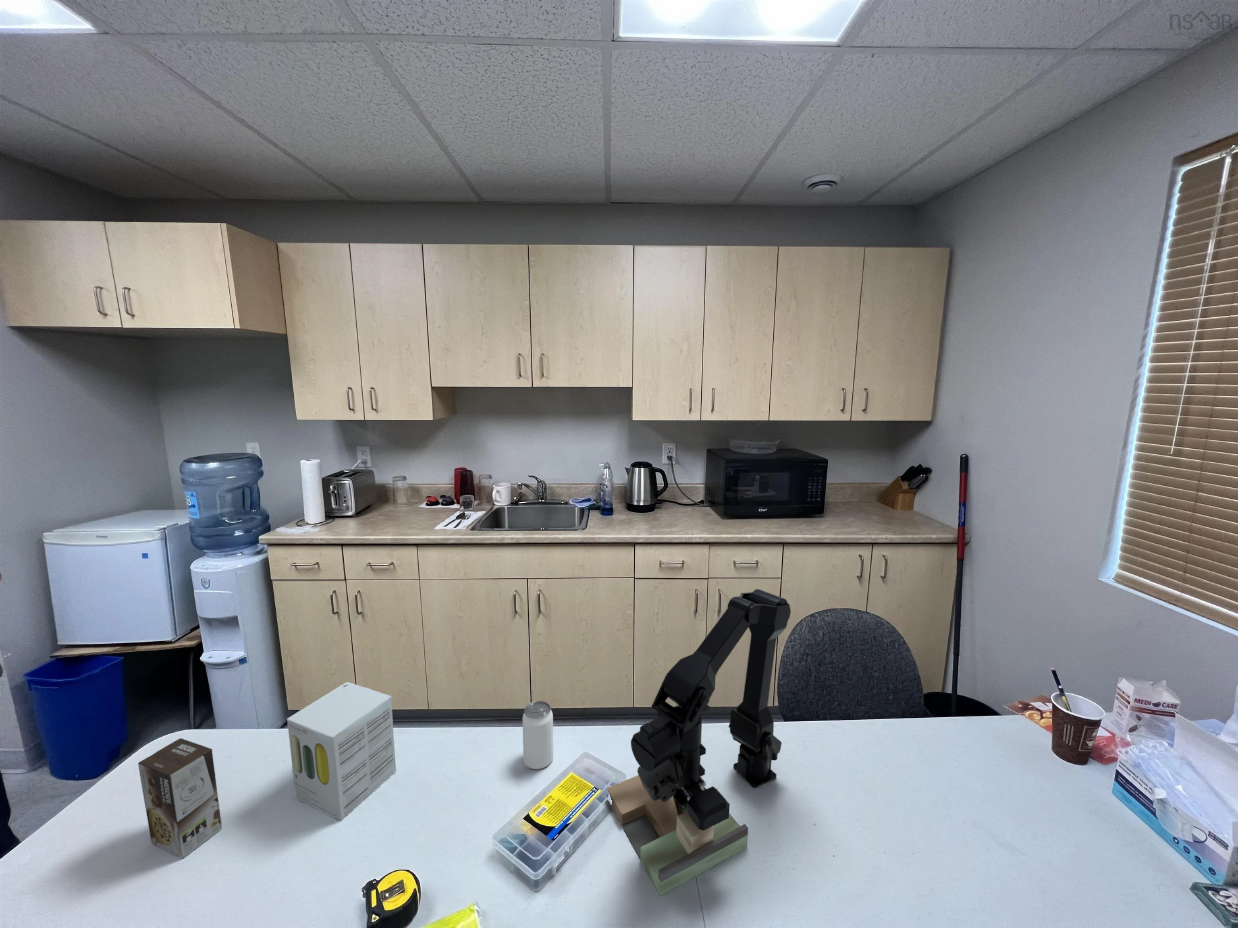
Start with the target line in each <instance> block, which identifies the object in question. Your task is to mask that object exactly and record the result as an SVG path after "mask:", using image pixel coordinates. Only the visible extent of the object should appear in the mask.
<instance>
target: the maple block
mask: <svg viewBox="0 0 1238 928" xmlns="http://www.w3.org/2000/svg"><path fill="white" fill-rule="evenodd" d="M713 834H714V827H713V826H712V827H710V828H708V829H706V830H704V831H703V830H700V829H698V827H697V826H696V825H695V823H694V822H693V821H692V819H691V818H690V816H689V814H688V811H687V812H685V813H683V814H680V815H678V816H677V830H676V836H677V838H678V840H679V841H680V843H681V844H682V846H683V847H684V849H685V850H686V852H687V853H688V854H689V853H691V852H693V851H695V850H696V849H698V848H700V847H702V846H704V845H706V844H708V843H710V842H712V841H713Z"/></svg>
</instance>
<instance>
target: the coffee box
mask: <svg viewBox="0 0 1238 928" xmlns="http://www.w3.org/2000/svg"><path fill="white" fill-rule="evenodd" d="M213 756H214V754H213V749H212V748H210V747H208V746H205V745H202V744H199V743H196V742H192V741H191V740H190V741H189V740H187V739H184V738H181V737H180V738H179V739H177V740H174V741H173V742H171V743H169V744H168V745H165V746H164V747H162V748H161V749H158V750H157V751H156V752H154V753H153V754H150V755H149V756H148V757H145V758H144V759H142V760H140V761H139V762H137V765H138V772H139V777H140V783H141V789H142V794H143V801H144V807H145V812H146V819H147V824H148V829H149V836H150V842H151V844H153V845H154V846H156V847H158V848H161V849H162V850H164V851H167V852H169V853H170V854H173V855H175V856H177V857H179V858H181V859H184V858H186V857H187V856H188V855H190V854H191V853H192V852H193V851H195V850H196V849H197V848H199V847H200V846H201V845H203V844H204V843H205V842H206V841H208V840H210V839H211V838H212V837H213V836H215V835H216V834H217V833H219V832H220V831H221V830H222V829H223V826H222V818H221V810H220V802H219V795H218V786H217V778H216V770H215V763H214V757H213Z"/></svg>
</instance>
